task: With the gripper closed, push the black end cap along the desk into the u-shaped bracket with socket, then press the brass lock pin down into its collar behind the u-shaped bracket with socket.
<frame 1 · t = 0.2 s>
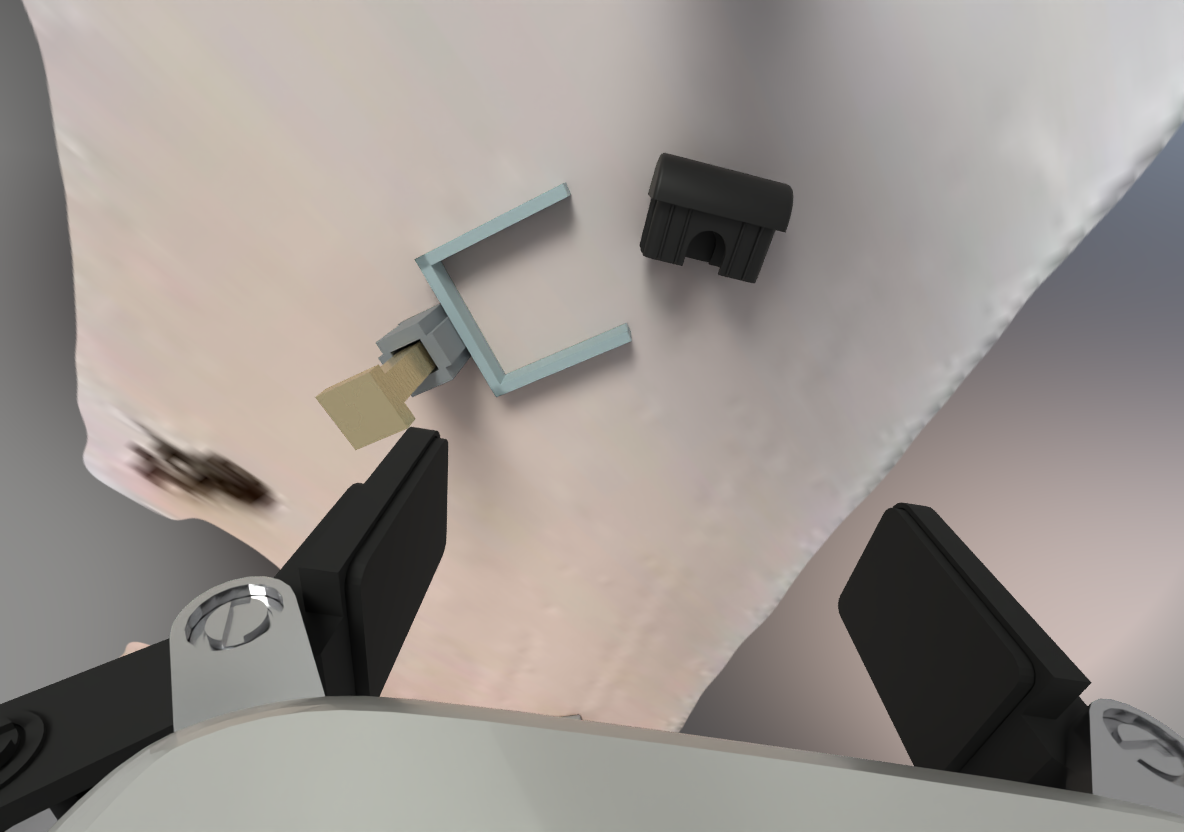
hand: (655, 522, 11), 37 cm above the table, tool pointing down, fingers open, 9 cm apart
lock pin: (393, 382, 38), point 11 cm above the table, slide at 5.0 cm
u-shaped bracket with socket: (535, 292, 45), on the table
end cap: (703, 214, 42), on the table
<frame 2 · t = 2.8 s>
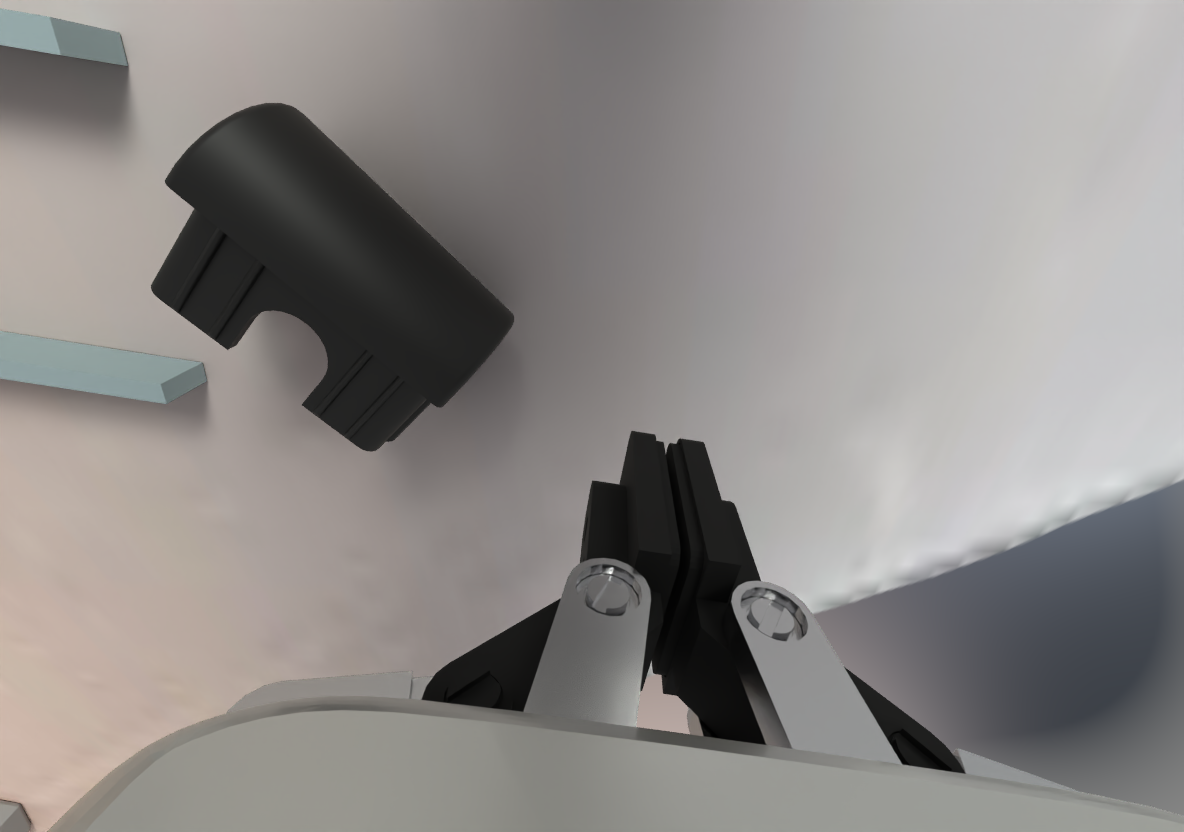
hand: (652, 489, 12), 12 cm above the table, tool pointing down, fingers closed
u-shaped bracket with socket: (15, 209, 21), on the table
vintage mobile phone: (10, 808, 49), on the table
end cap: (394, 268, 22), on the table
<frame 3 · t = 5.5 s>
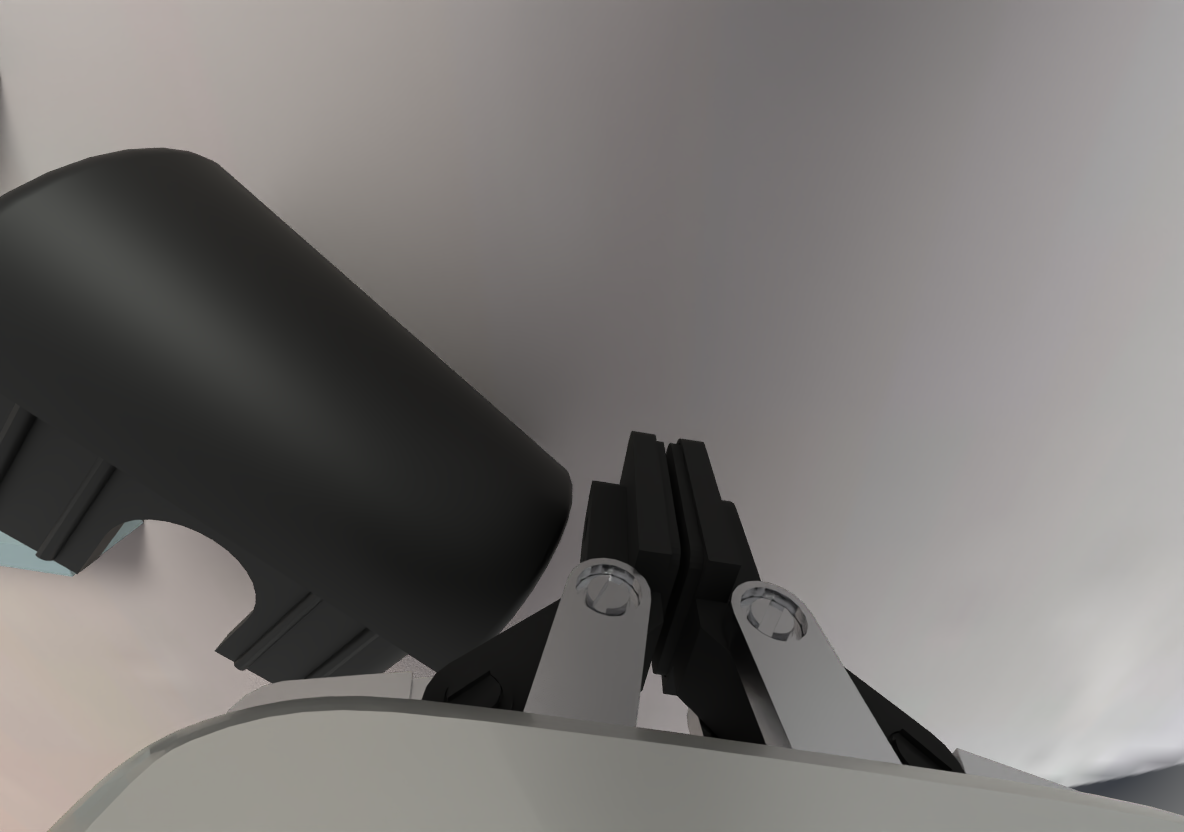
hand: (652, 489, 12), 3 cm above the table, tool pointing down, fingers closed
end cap: (381, 382, 14), on the table, touching gripper
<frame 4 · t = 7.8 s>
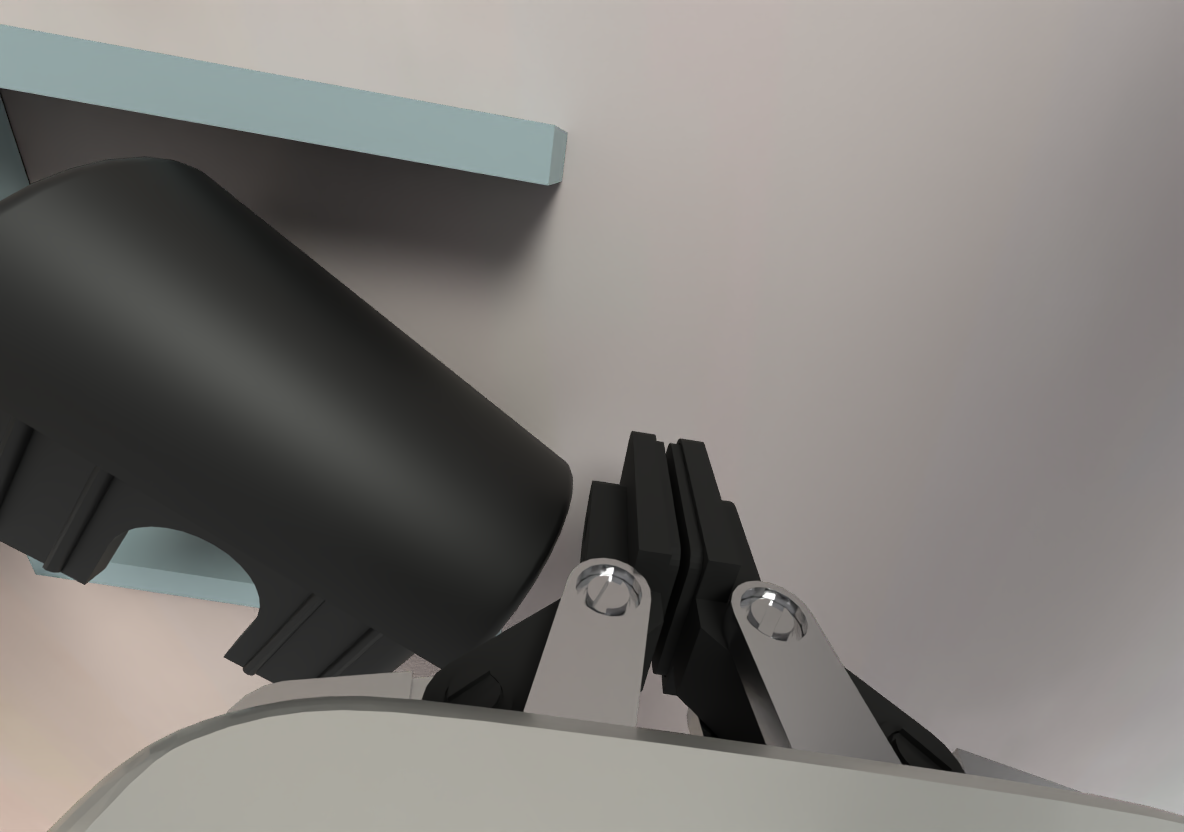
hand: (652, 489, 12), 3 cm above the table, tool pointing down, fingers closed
u-shaped bracket with socket: (309, 370, 14), on the table
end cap: (380, 385, 14), on the table, touching gripper
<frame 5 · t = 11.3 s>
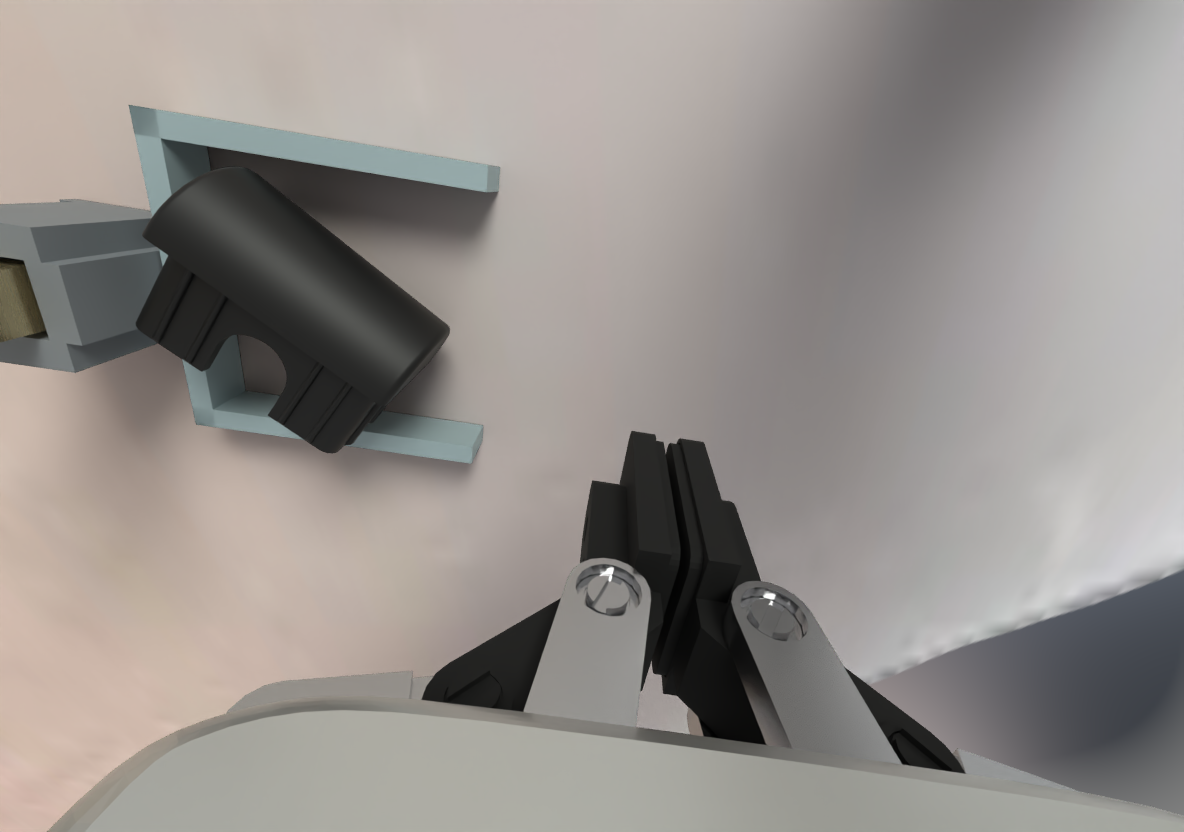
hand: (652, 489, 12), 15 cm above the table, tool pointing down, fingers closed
u-shaped bracket with socket: (360, 300, 25), on the table
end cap: (349, 298, 25), on the table
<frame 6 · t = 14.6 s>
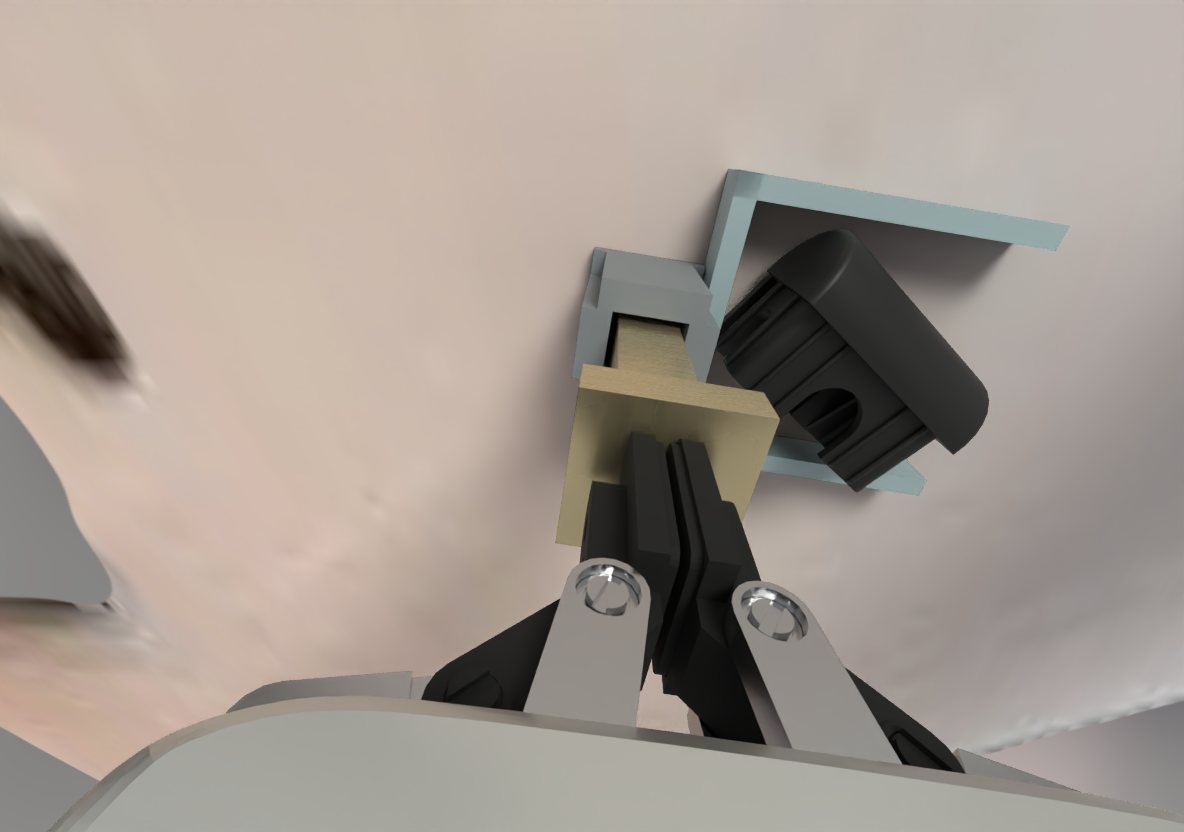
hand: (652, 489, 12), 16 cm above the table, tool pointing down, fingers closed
lock pin: (648, 394, 16), point 11 cm above the table, slide at 4.4 cm, touching gripper
u-shaped bracket with socket: (832, 340, 26), on the table
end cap: (816, 337, 26), on the table
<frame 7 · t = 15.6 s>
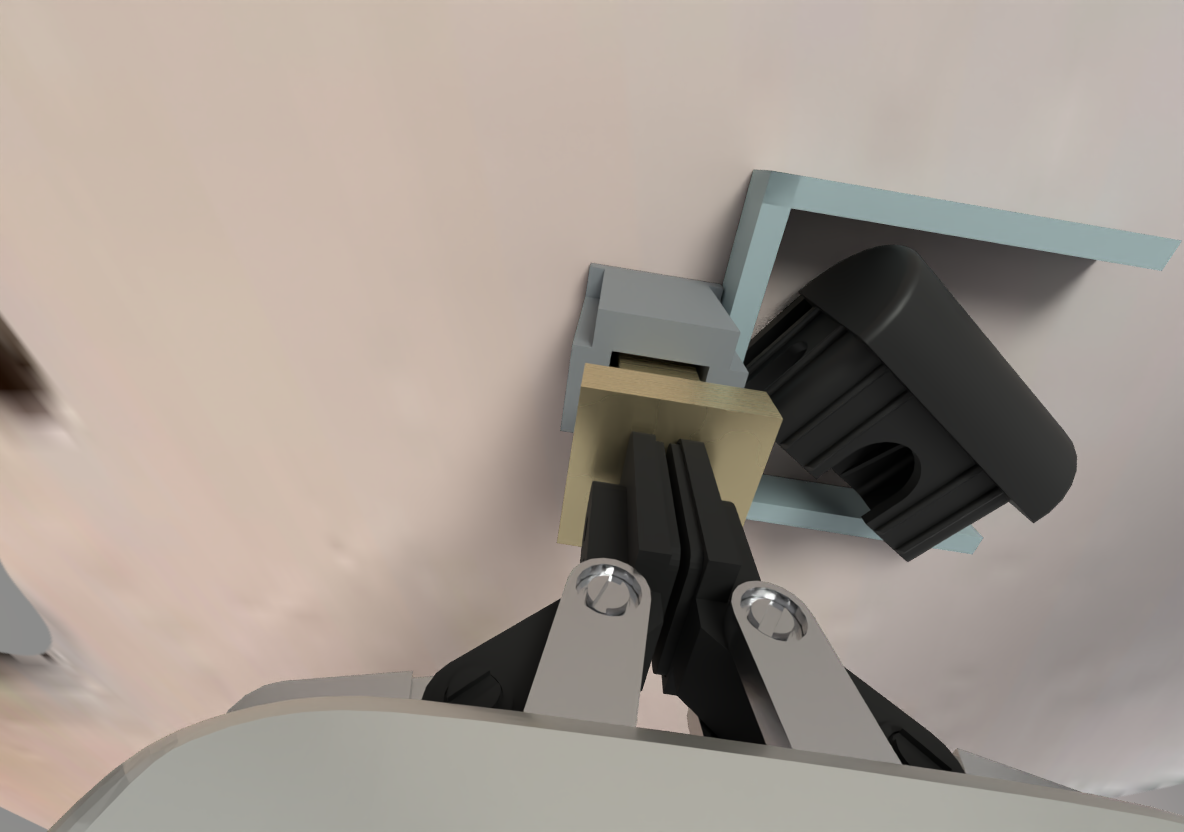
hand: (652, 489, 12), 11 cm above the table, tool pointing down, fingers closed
lock pin: (649, 393, 16), point 6 cm above the table, slide at -0.1 cm, touching gripper
u-shaped bracket with socket: (873, 373, 22), on the table
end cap: (853, 369, 22), on the table
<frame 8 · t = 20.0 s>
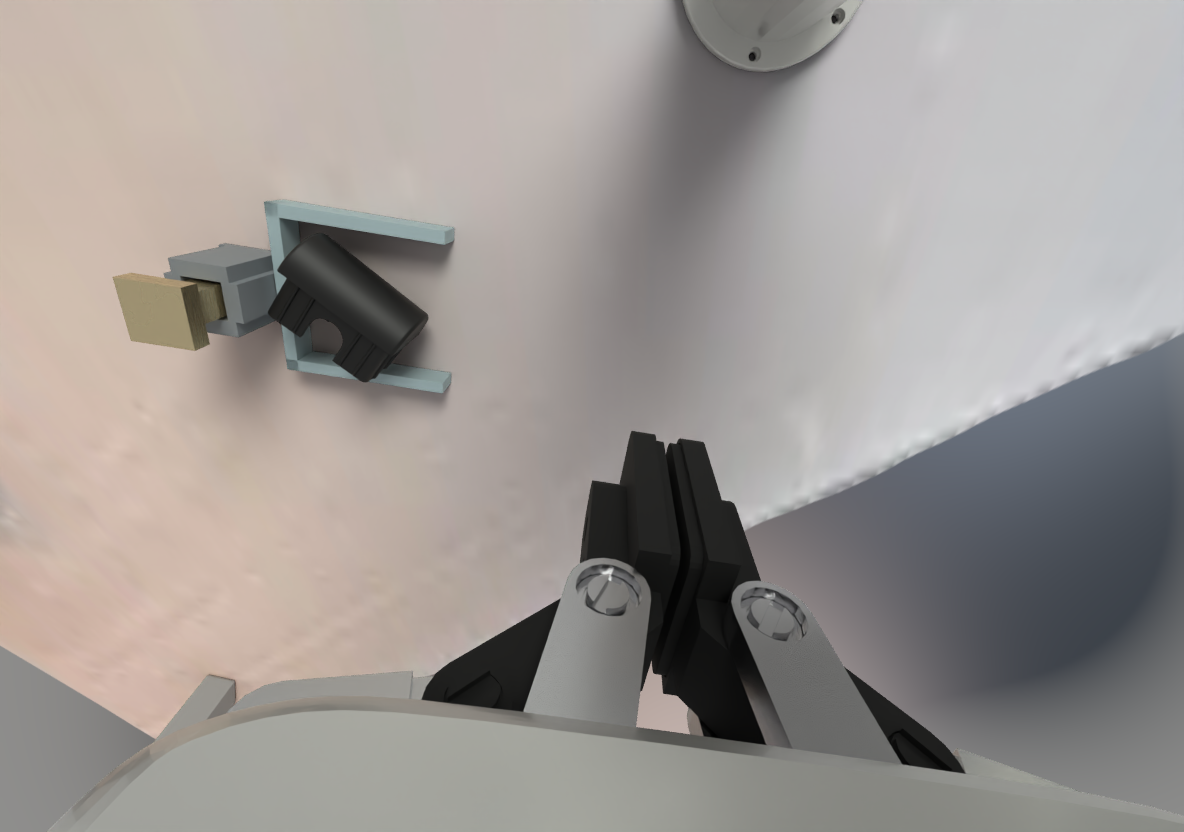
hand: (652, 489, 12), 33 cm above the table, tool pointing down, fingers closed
lock pin: (211, 296, 38), point 6 cm above the table, slide at -0.1 cm
u-shaped bracket with socket: (379, 299, 44), on the table
vintage mobile phone: (223, 685, 71), on the table
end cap: (373, 297, 44), on the table
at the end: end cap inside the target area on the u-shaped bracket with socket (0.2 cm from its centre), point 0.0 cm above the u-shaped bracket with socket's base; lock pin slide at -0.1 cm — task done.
